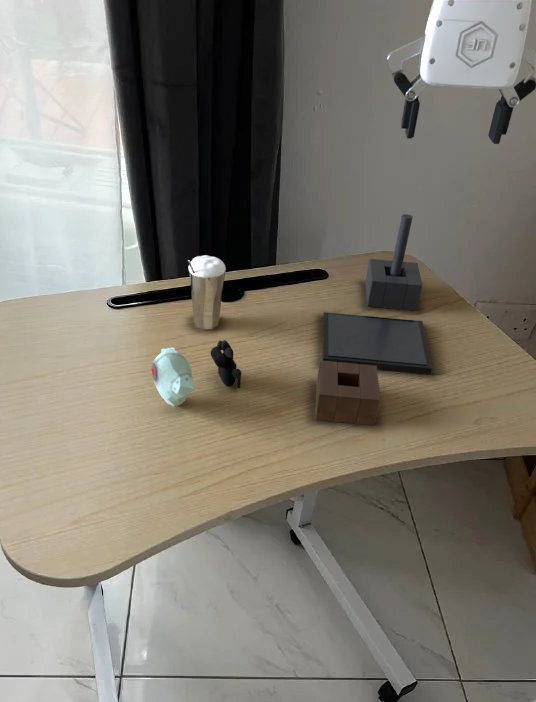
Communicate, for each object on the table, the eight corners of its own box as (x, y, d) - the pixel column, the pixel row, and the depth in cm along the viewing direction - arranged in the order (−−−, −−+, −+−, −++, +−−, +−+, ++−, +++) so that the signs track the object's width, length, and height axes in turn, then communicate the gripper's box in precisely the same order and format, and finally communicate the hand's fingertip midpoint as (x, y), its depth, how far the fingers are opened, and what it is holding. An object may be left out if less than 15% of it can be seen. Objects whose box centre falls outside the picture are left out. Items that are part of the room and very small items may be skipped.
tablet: (420, 326, 88) (422, 320, 87) (430, 374, 79) (432, 367, 79) (323, 317, 89) (323, 311, 88) (322, 364, 80) (323, 357, 79)
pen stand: (371, 390, 76) (376, 365, 74) (374, 425, 71) (380, 400, 69) (316, 384, 77) (319, 360, 74) (315, 419, 72) (319, 394, 69)
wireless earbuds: (243, 397, 74) (245, 360, 71) (222, 401, 73) (223, 364, 70) (223, 363, 79) (224, 327, 76) (203, 366, 79) (203, 330, 75)
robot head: (201, 422, 70) (201, 371, 66) (163, 430, 69) (162, 378, 65) (179, 380, 76) (179, 330, 72) (145, 386, 75) (142, 336, 71)
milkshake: (176, 324, 86) (175, 253, 79) (206, 310, 89) (208, 241, 83) (200, 339, 83) (201, 267, 77) (230, 324, 86) (233, 253, 80)
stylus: (394, 294, 94) (412, 214, 87) (395, 299, 93) (413, 218, 86) (385, 294, 94) (401, 213, 87) (385, 298, 93) (402, 217, 86)
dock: (411, 287, 96) (417, 262, 94) (416, 311, 91) (422, 285, 89) (365, 283, 97) (369, 258, 94) (367, 306, 91) (372, 280, 89)
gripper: (405, -39, 64) (377, 142, 74) (590, -32, 62) (535, 152, 73) (399, -45, 70) (374, 124, 80) (568, -38, 68) (520, 133, 79)
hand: (451, 137), depth 77 cm, fingers open, 9 cm apart
